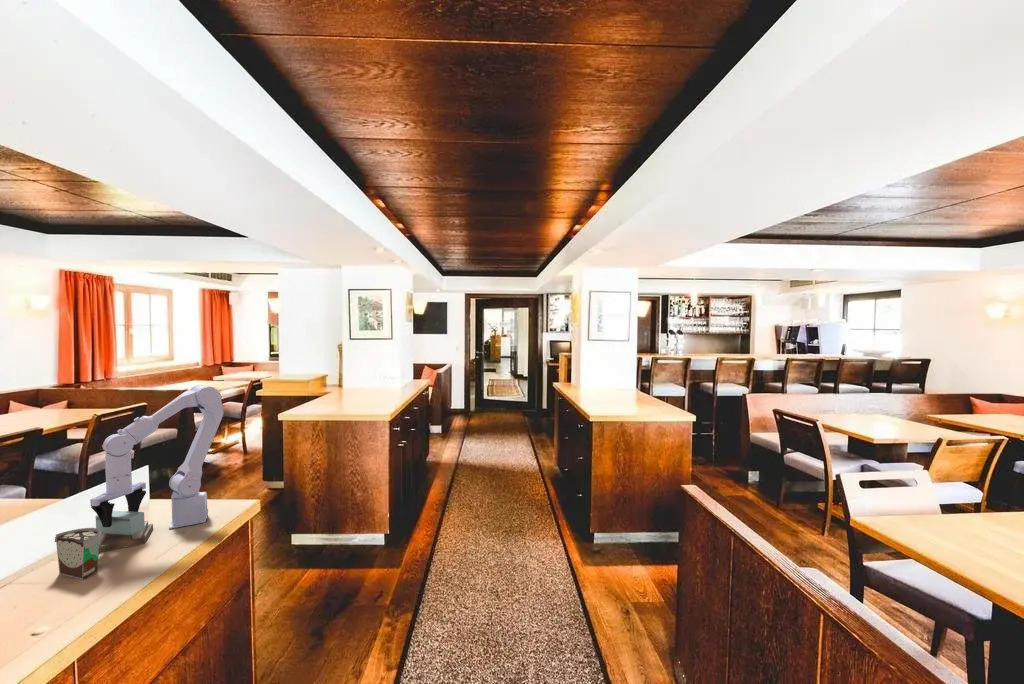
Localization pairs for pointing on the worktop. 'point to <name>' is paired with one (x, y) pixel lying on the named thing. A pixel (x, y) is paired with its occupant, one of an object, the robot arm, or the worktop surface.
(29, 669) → the worktop surface
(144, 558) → the worktop surface
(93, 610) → the worktop surface
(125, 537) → the display stand
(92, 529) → the food container
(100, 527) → the glasses case
